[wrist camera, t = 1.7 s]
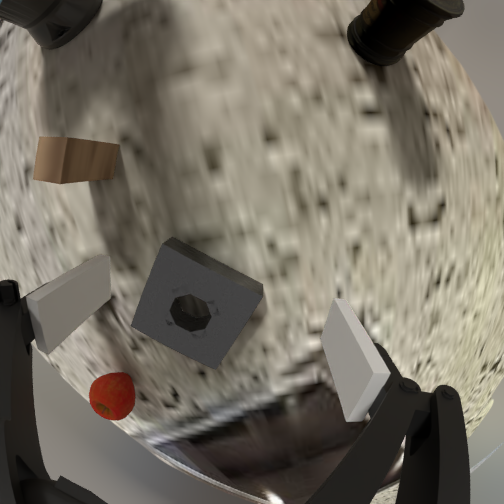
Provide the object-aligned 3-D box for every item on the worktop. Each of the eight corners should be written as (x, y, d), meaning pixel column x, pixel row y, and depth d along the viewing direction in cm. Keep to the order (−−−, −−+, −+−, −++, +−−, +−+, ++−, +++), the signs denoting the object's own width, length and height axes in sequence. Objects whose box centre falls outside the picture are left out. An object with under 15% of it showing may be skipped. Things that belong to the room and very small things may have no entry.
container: (396, 27, 26) (453, -25, 8) (404, 72, 28) (477, 30, 11) (342, 14, 26) (382, -56, 9) (348, 59, 28) (404, -6, 11)
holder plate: (140, 313, 40) (130, 326, 36) (172, 236, 36) (162, 243, 32) (219, 354, 41) (215, 369, 37) (262, 284, 37) (262, 296, 34)
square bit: (87, 174, 34) (33, 179, 22) (93, 142, 32) (39, 136, 21) (113, 178, 34) (60, 184, 22) (119, 144, 33) (67, 137, 21)
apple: (115, 350, 42) (88, 387, 32) (152, 378, 43) (132, 419, 33) (101, 372, 44) (76, 406, 34) (134, 397, 45) (115, 434, 35)
